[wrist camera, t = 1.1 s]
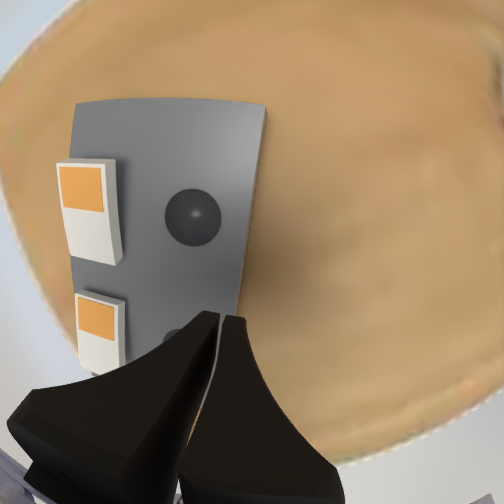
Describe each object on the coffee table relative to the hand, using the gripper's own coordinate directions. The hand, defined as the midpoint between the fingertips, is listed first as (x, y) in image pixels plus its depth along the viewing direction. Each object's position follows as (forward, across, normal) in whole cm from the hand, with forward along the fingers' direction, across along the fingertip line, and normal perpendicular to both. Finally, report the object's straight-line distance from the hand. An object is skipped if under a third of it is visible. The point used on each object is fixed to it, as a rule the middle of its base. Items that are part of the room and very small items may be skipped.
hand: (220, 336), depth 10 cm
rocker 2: (+6, +9, +6) cm, 12 cm away
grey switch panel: (+9, +6, +2) cm, 11 cm away
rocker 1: (+5, +9, -2) cm, 11 cm away
